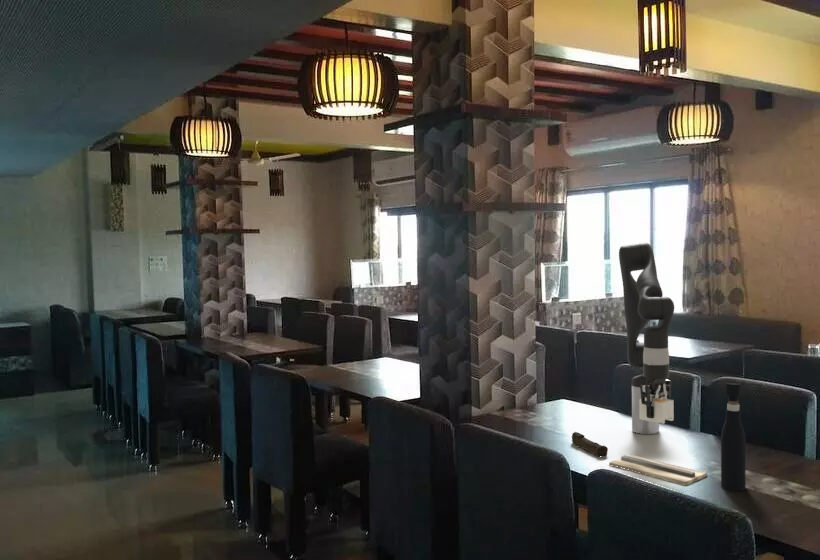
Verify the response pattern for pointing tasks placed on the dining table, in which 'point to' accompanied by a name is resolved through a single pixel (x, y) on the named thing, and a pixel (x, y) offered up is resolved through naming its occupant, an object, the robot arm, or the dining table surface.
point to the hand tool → (589, 444)
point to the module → (658, 410)
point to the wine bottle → (733, 443)
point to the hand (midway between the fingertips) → (656, 415)
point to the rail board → (659, 469)
